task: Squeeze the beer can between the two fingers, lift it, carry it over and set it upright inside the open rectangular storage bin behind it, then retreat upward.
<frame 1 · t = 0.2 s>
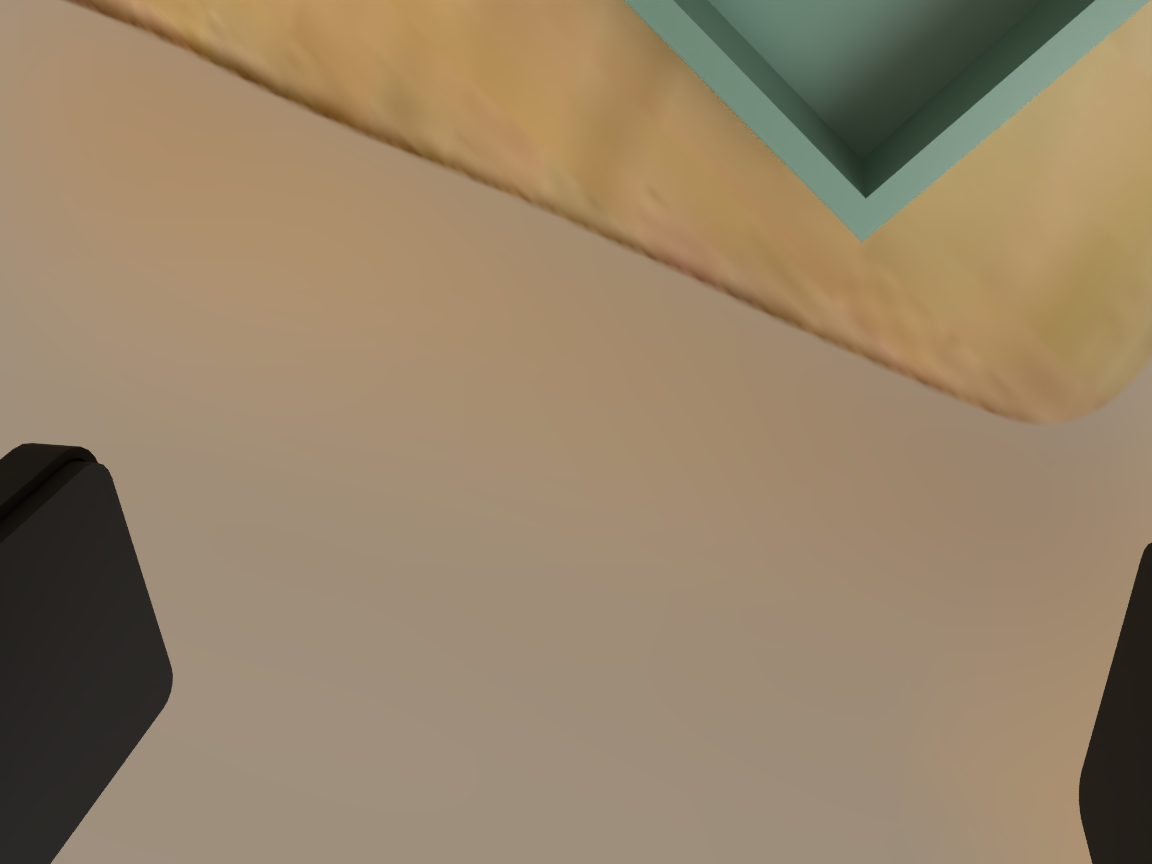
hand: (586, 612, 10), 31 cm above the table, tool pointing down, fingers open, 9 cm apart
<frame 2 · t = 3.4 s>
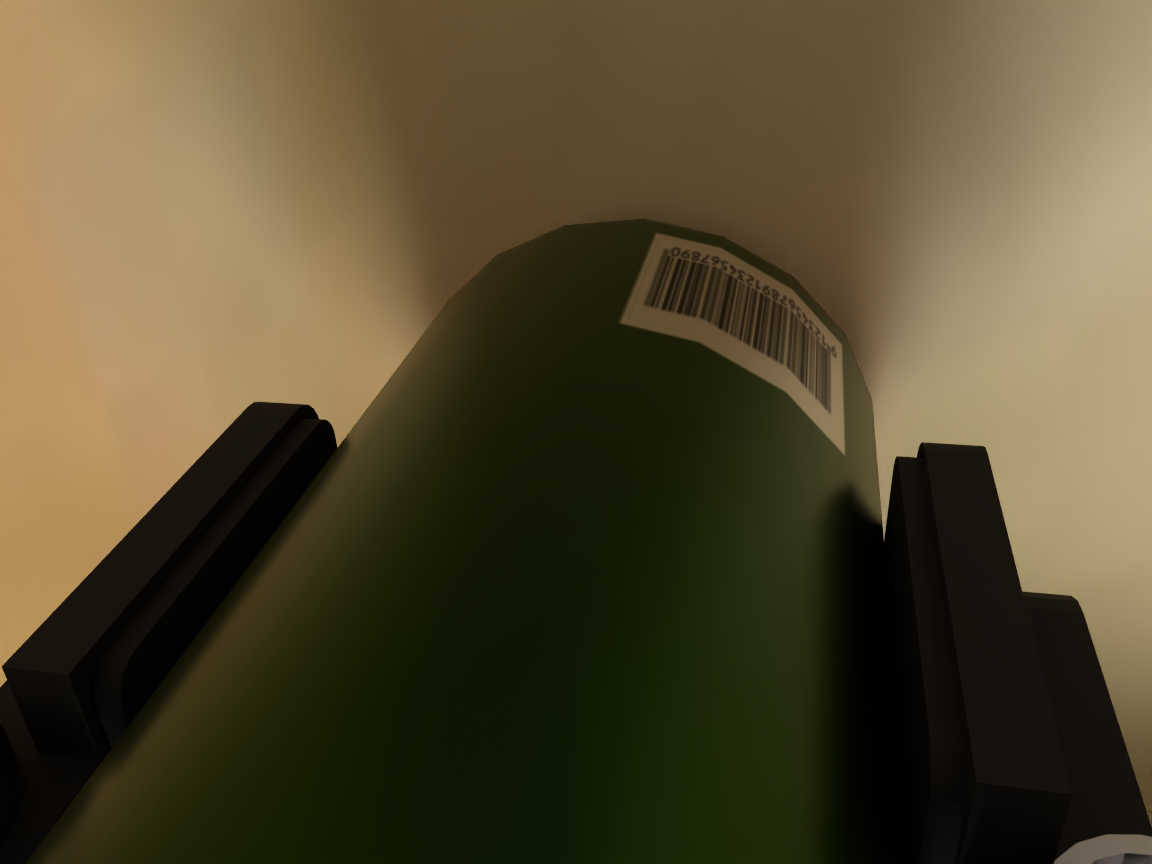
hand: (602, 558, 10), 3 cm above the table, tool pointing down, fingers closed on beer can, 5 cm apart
beer can: (647, 402, 13), on the table, touching gripper
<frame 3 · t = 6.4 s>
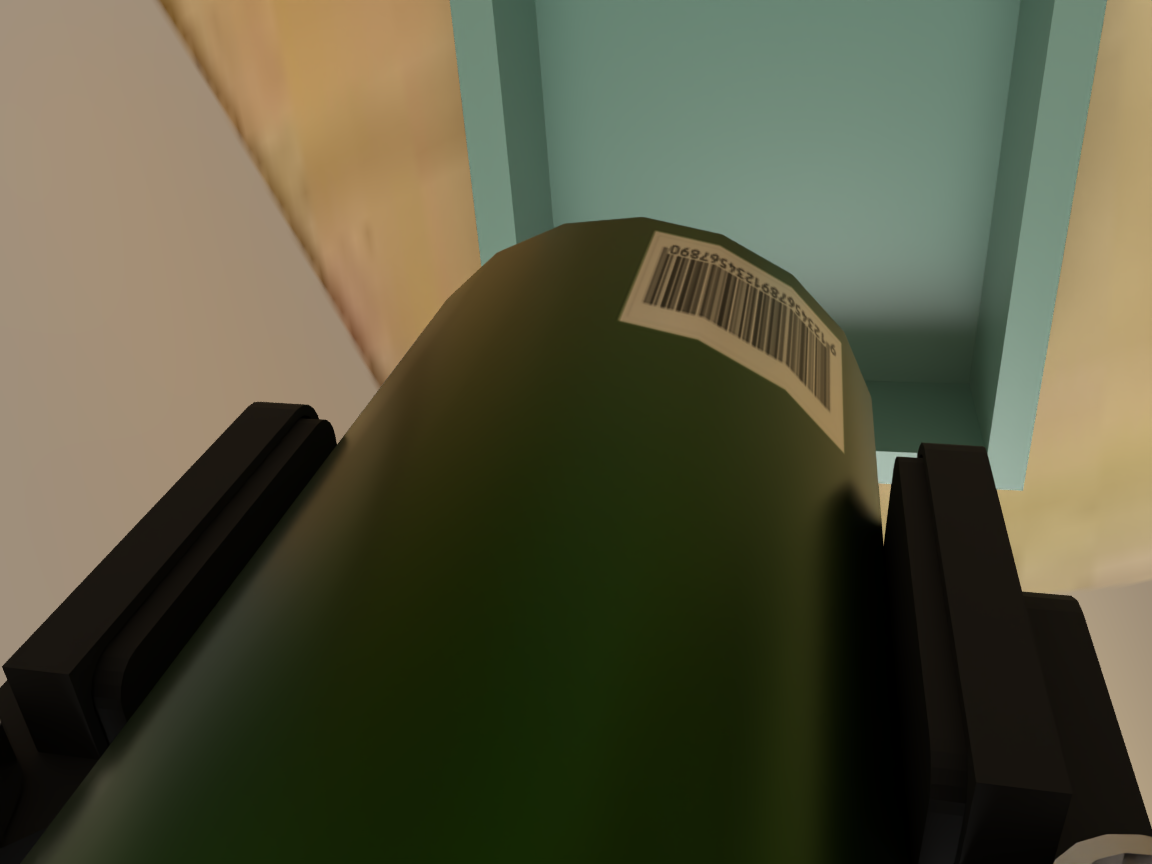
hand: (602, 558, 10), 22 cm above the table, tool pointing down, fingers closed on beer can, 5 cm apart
open rectangular storage bin: (765, 170, 30), on the table
beer can: (646, 400, 13), point 18 cm above the table, touching gripper
when the fingers open (6 cm above the table, at t = 9.9 s): beer can drops 2 cm, resting on open rectangular storage bin.
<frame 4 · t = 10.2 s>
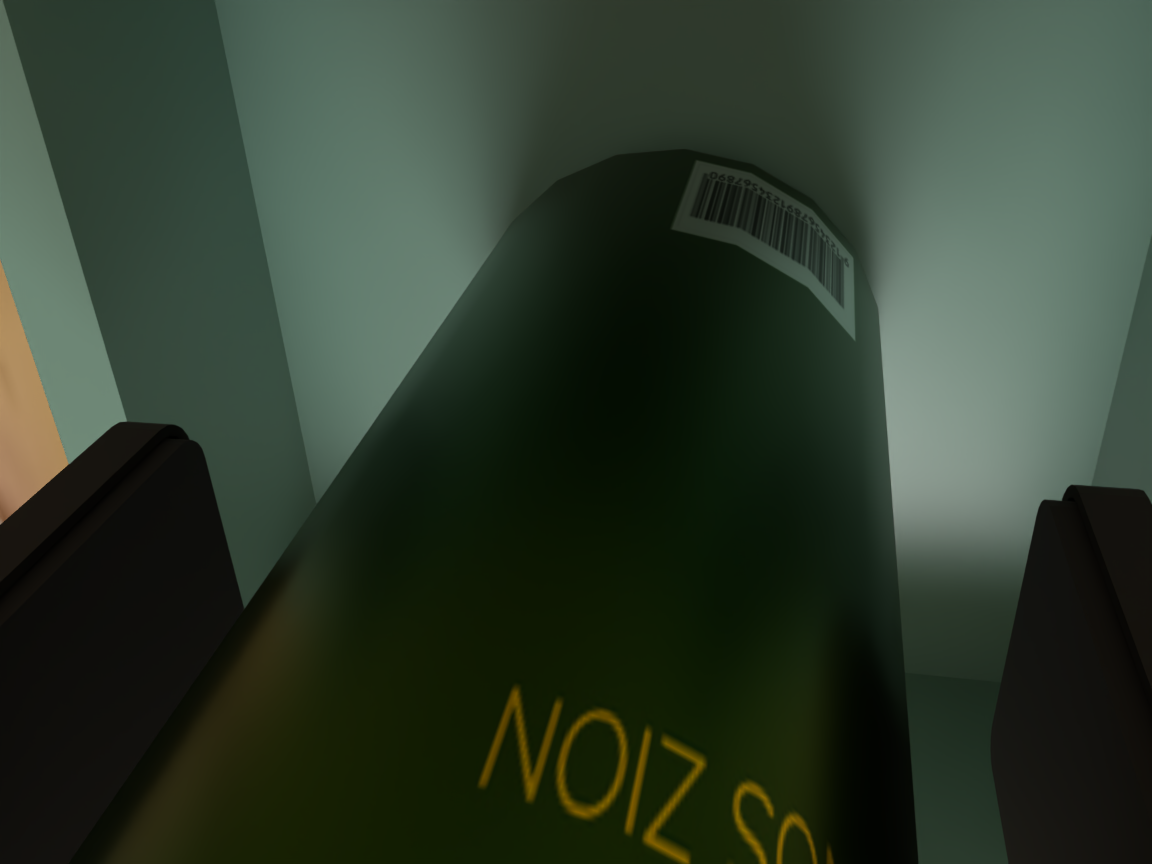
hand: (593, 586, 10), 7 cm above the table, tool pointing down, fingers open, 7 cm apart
open rectangular storage bin: (676, 299, 16), on the table
beer can: (681, 315, 15), point 1 cm above the table, touching open rectangular storage bin
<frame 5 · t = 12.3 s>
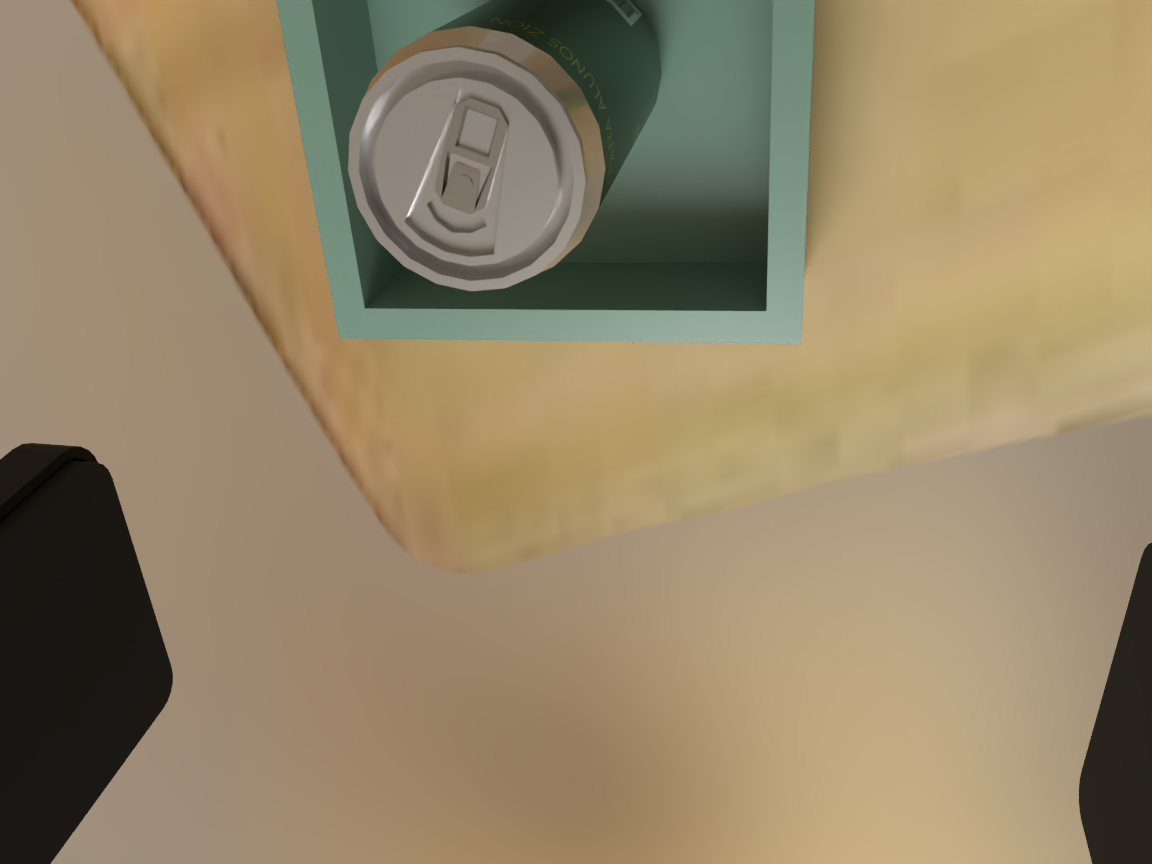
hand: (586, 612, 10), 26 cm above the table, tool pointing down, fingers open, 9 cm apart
open rectangular storage bin: (575, 65, 33), on the table
beer can: (575, 64, 32), point 1 cm above the table, touching open rectangular storage bin
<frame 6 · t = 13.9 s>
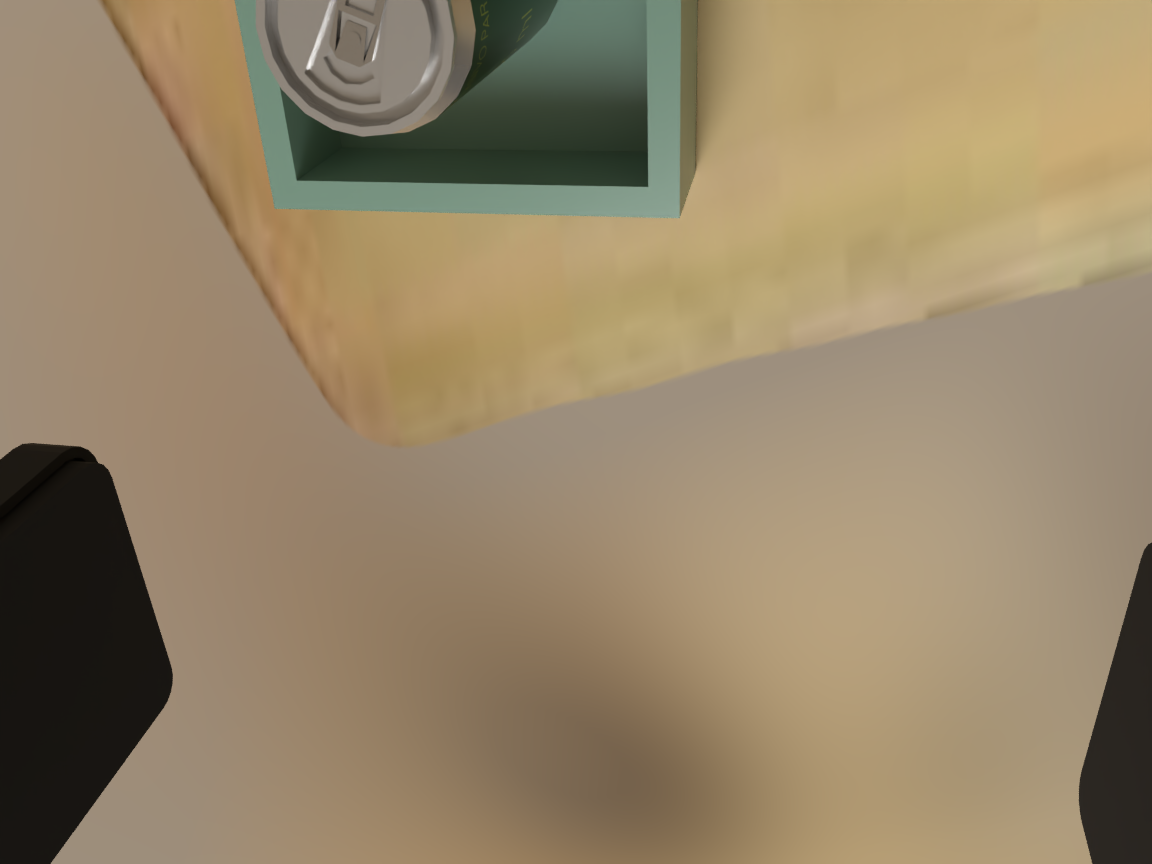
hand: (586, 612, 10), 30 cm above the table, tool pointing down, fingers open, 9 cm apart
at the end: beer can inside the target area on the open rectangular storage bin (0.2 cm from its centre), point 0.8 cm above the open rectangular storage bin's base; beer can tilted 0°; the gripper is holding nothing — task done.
